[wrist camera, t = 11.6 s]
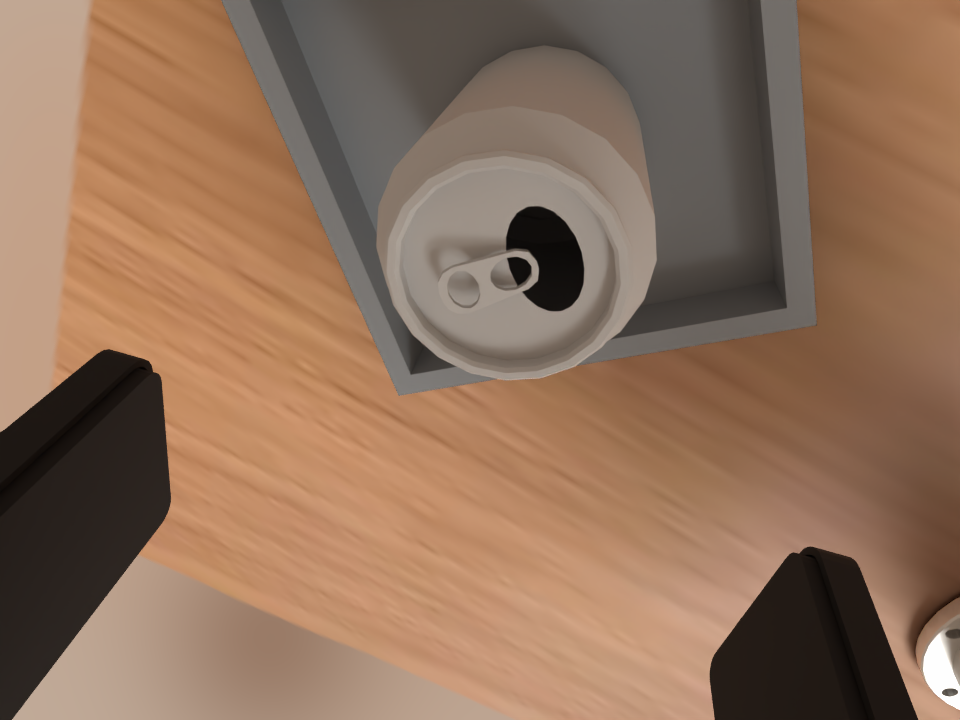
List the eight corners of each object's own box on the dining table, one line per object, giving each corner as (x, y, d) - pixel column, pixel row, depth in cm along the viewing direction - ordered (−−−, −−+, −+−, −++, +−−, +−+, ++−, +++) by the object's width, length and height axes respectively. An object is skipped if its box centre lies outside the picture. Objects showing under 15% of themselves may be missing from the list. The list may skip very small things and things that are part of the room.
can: (658, 208, 27) (688, 377, 17) (485, 254, 29) (421, 425, 19) (616, 10, 23) (622, 76, 13) (422, 79, 25) (304, 179, 16)
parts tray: (798, 290, 28) (816, 325, 26) (414, 360, 34) (398, 395, 31) (758, -243, 20) (779, -268, 17) (248, -33, 25) (208, -29, 22)
